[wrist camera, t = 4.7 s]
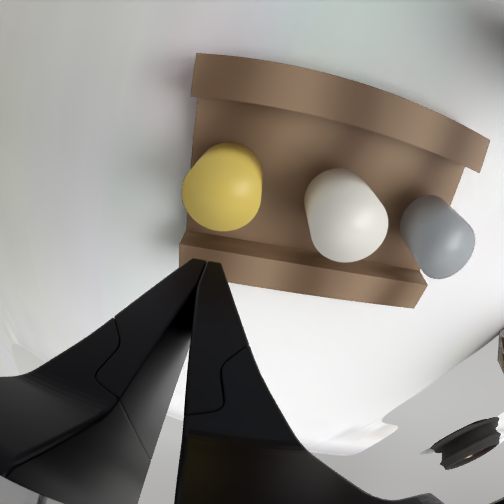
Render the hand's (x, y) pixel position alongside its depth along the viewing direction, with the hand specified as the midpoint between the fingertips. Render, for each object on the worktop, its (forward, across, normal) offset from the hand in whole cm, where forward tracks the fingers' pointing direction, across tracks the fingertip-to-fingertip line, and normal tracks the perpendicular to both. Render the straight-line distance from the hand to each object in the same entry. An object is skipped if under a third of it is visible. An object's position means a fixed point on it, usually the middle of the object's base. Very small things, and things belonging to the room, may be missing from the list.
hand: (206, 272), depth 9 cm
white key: (+9, -6, +1) cm, 11 cm away
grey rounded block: (+9, -12, +1) cm, 15 cm away
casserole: (+12, -62, +49) cm, 80 cm away
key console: (+12, -6, +1) cm, 13 cm away
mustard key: (+10, +1, +1) cm, 10 cm away
